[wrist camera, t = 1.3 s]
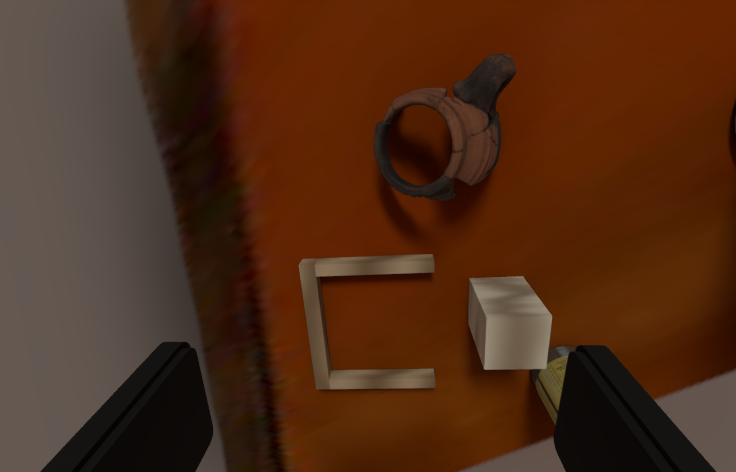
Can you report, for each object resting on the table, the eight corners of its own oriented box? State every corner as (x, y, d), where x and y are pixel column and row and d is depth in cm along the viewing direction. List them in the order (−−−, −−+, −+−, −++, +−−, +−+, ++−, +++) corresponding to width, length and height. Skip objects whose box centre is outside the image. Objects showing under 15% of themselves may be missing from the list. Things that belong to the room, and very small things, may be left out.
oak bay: (432, 254, 36) (434, 260, 34) (433, 377, 40) (435, 388, 39) (302, 259, 37) (298, 265, 35) (318, 379, 41) (316, 389, 40)
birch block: (522, 276, 36) (552, 316, 29) (519, 321, 38) (546, 368, 31) (469, 278, 36) (486, 317, 30) (468, 322, 38) (484, 369, 31)
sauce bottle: (578, 396, 40) (740, 654, 22) (520, 385, 40) (633, 634, 21) (601, 346, 38) (805, 586, 19) (540, 335, 38) (686, 564, 19)
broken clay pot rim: (470, 209, 34) (431, 233, 28) (394, 149, 37) (343, 159, 31) (564, 86, 28) (542, 81, 21) (464, 23, 30) (417, 3, 24)
